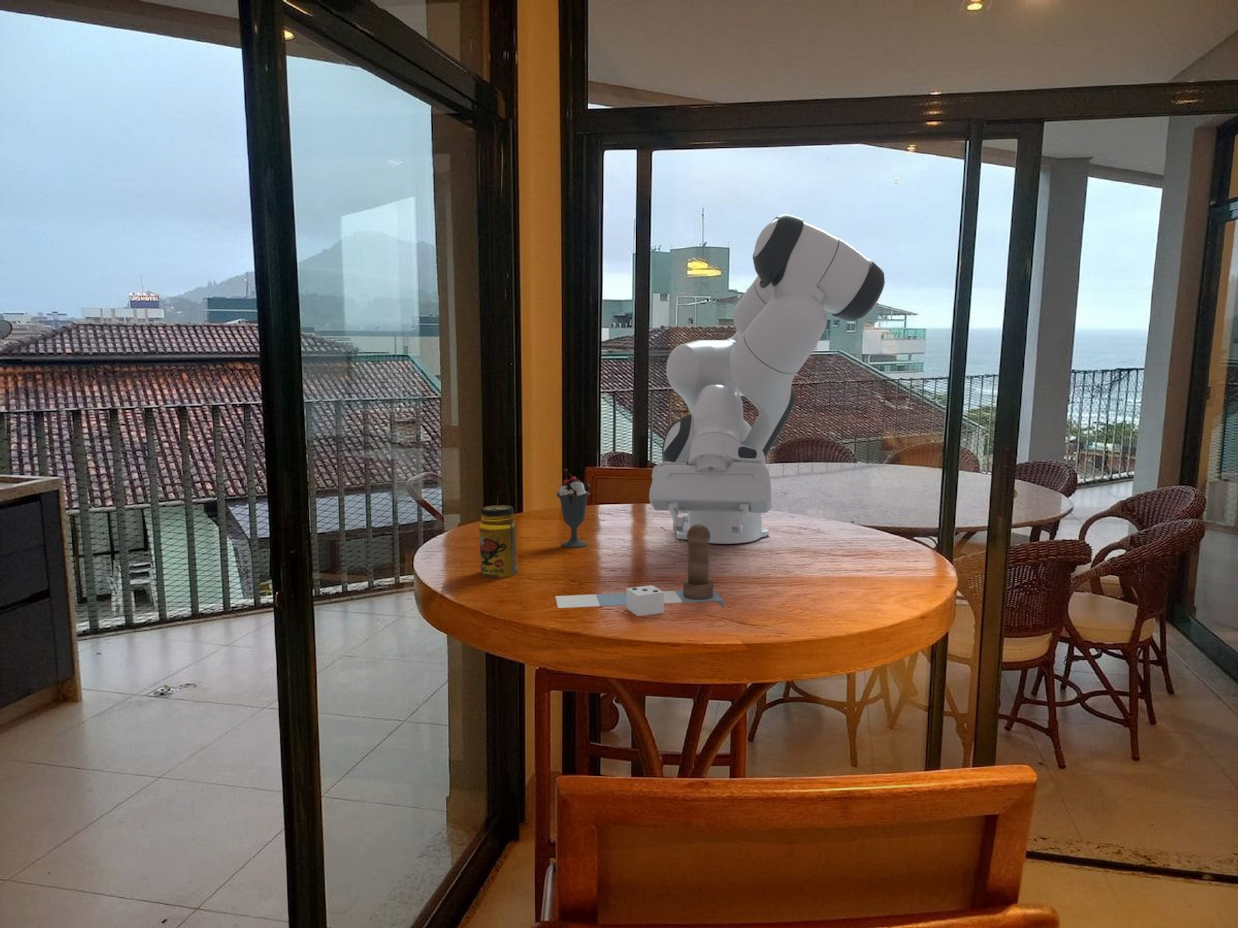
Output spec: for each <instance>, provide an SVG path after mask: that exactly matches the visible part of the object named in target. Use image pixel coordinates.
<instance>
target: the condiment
mask: <svg viewBox="0 0 1238 928" xmlns="http://www.w3.org/2000/svg"><path fill="white" fill-rule="evenodd" d="M514 511H515V509H514V508H513V506H510V505H504V504H502V505H501V504H500V505H499V504H498V505H489V506H488V505H487V506H485V507H482V508H481V511H480V513H481V518H480V521H481V523H480V524H479V528H478V530H479V531H478V533H479V554H480V555H479V557H480V574H481V575H480V576H483V577H486V578H494V579H499V578H510V577H513V576H516V575H517V574H518V572H519V571H518V564H519V563H518V541H517V540H518V536H517V535H518V533H517V530H518V529H517V524H516V522H515V516H514Z"/></svg>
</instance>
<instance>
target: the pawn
mask: <svg viewBox="0 0 1238 928" xmlns="http://www.w3.org/2000/svg"><path fill="white" fill-rule="evenodd" d="M709 540H710V532H709V530H708V529H707V528H706V527H705V526H703V525H700V524H696V525H693V526H692V527H690V529H689V530H688V532H687V540H686V541H687V579H685V580H683V583H682V589H683V596H684V597H686V598H689V599H695V600H703V599H709V598H712V597H713V589H714V582H713V581H712V580H710V579H709V565H710V564H709V557H710V556H709V552H710V551H709V550H710V543H709Z"/></svg>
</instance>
